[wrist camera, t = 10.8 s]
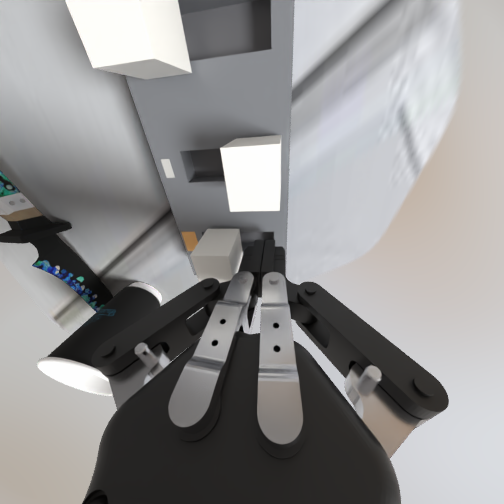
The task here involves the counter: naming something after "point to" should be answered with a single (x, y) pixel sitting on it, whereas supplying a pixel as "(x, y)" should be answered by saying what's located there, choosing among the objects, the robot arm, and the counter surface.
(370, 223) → the counter surface
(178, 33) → the tab near
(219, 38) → the switch block
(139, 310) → the dixie cup
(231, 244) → the tab far
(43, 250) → the knife
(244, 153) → the tab middle
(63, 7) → the counter surface
